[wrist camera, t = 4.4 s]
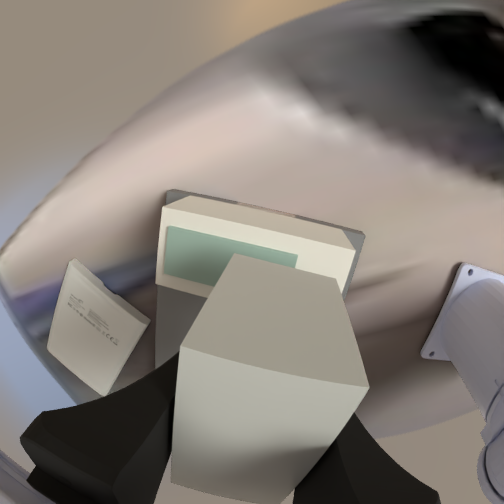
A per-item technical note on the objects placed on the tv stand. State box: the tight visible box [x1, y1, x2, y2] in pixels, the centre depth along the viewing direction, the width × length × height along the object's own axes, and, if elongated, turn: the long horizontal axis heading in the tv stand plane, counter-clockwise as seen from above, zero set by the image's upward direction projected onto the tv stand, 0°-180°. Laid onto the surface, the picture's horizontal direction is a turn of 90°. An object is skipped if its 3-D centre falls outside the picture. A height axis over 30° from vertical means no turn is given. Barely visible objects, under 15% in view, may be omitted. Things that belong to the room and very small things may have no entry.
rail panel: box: [155, 189, 365, 369], centre depth 18 cm, size 12×18×5 cm, turn 169°
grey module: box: [171, 253, 370, 504], centre depth 9 cm, size 4×7×6 cm, turn 168°
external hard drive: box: [47, 258, 151, 396], centre depth 23 cm, size 2×8×12 cm
